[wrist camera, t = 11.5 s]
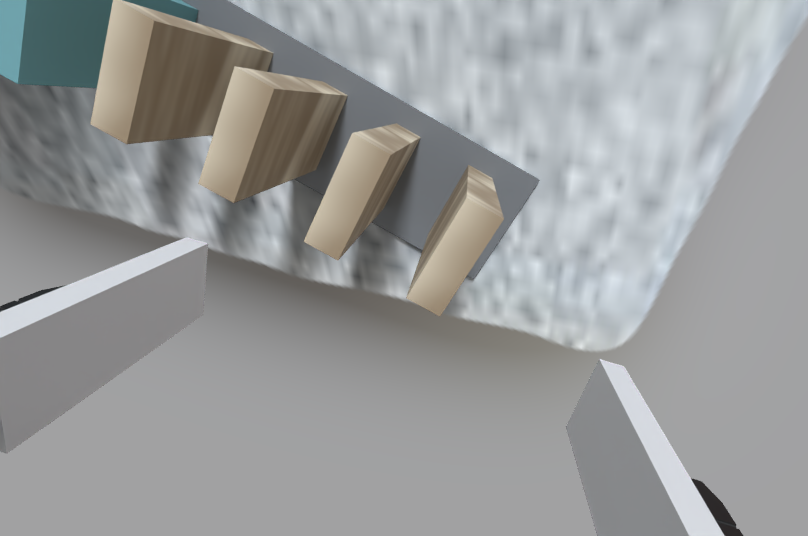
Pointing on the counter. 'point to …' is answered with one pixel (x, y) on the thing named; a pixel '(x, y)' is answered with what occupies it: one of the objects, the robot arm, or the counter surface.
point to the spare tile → (63, 38)
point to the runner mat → (371, 108)
